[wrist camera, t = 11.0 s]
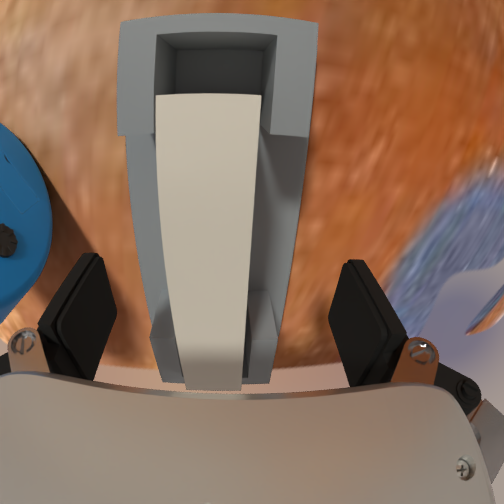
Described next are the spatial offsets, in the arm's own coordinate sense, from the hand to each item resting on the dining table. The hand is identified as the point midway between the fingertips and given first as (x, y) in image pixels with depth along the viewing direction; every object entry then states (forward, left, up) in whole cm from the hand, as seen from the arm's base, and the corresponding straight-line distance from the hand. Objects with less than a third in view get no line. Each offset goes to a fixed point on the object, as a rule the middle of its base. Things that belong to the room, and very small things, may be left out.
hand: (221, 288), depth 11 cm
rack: (+1, 0, -8) cm, 8 cm away
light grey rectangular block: (+1, 0, -7) cm, 7 cm away
